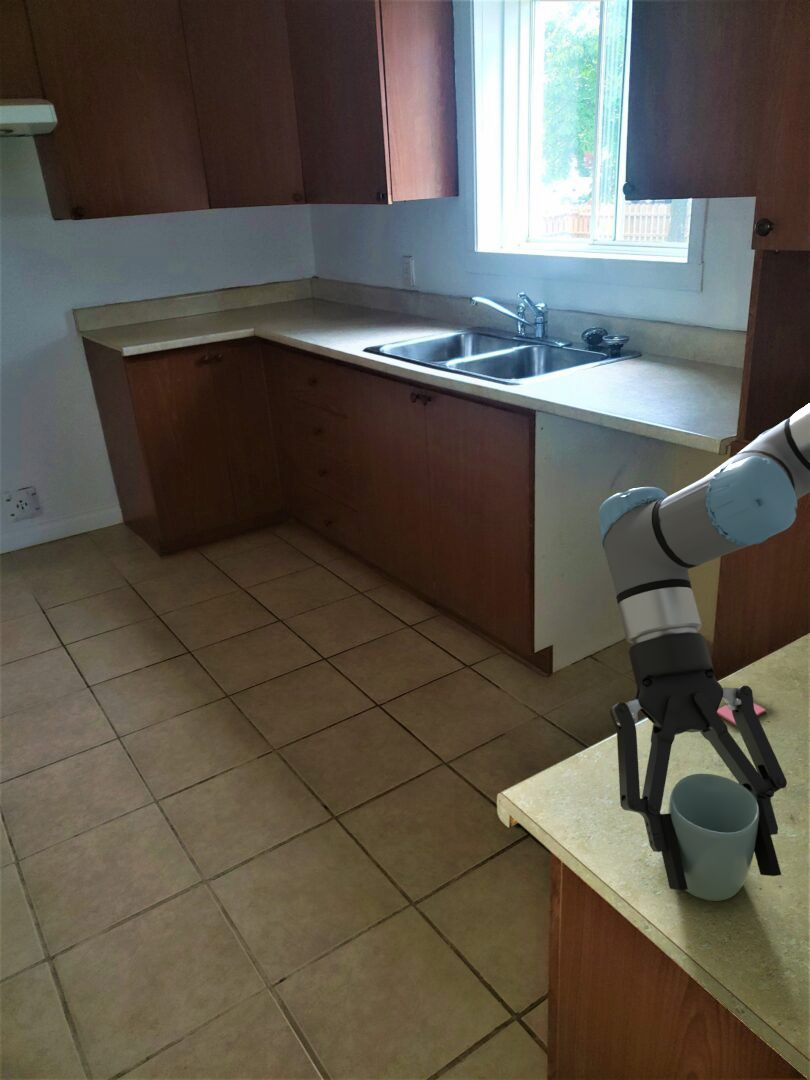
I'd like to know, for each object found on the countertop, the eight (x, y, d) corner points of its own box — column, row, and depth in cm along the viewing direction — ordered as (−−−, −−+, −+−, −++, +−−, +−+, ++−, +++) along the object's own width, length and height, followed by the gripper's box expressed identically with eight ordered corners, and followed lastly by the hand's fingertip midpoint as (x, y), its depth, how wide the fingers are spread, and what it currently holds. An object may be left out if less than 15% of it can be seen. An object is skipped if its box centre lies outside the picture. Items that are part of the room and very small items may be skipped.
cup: (757, 869, 80) (769, 790, 75) (736, 928, 74) (748, 847, 70) (677, 838, 84) (684, 762, 80) (651, 892, 78) (657, 814, 74)
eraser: (741, 702, 103) (742, 696, 102) (764, 716, 100) (765, 709, 100) (714, 717, 101) (715, 710, 100) (737, 731, 98) (738, 725, 97)
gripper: (748, 634, 86) (813, 863, 79) (555, 659, 85) (603, 895, 77) (781, 616, 79) (856, 866, 72) (571, 644, 78) (625, 902, 70)
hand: (724, 881), depth 74 cm, fingers closed on cup, 8 cm apart
